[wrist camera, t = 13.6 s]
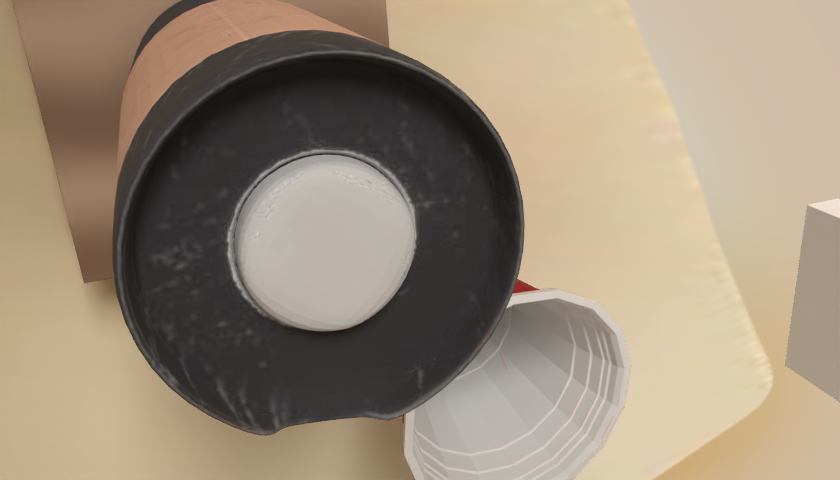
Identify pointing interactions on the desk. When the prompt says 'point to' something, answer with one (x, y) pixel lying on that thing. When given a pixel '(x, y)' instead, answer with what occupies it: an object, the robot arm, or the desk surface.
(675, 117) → the desk surface
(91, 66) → the walnut stand
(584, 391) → the plastic cup
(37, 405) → the desk surface
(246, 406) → the travel mug
